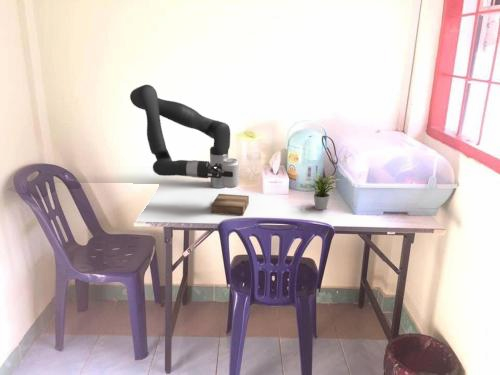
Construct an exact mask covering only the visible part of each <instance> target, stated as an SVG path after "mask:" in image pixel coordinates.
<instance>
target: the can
mask: <svg viewBox="0 0 500 375" xmlns="http://www.w3.org/2000/svg"><path fill="white" fill-rule="evenodd" d="M238 161H239V160H238V159H236V158H232V157H228V158H227V159H224V160H223V162H222V171H228V172H233V177H222V185H223V186H224V187H225V188H226V189H234V188H237V187H238V186H239V182H240V181H239V177H240V162H238Z"/></svg>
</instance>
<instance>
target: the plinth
mask: <svg viewBox="0 0 500 375" xmlns="http://www.w3.org/2000/svg"><path fill="white" fill-rule="evenodd" d="M249 196H250V195H242V194H226V193H218V195H217V196H216V198H214V200H213V201H212V202H211V204H210V206H211V207H210V208H211V211H210V212H211V213H210V214H219V215H221V214H222V215H234V216H243V215H244V214H245V212H246V210H247V208H248V206H249V199H250V198H249Z"/></svg>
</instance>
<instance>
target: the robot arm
mask: <svg viewBox="0 0 500 375" xmlns="http://www.w3.org/2000/svg"><path fill="white" fill-rule="evenodd" d="M129 100H130V101H131V103H132V105H133V106H134V107H136V108H138V109H140V110H143V111H145V115H146V137H147V143H148V146H149V149H150V150H149V151H150V153H151V154H152V155H154V156H155V159H156V160H155V162H154V163H153V164H152V170H153V172H154V173H155V174H156V175H159V176H171V177H172V176H181V177H191V178H197V179H198V178H199V179H208V178H209V179H210V186H211V187H212V188H214V189H225V188H226V187H224V186H223V185H222V177H233V172H228V171H222V162H223V160H224V159H227V158H229V150H230V148H231V147H230V146H231V128H230V126H229V125H228V123H226V122H222V121H219V120H215V119H211V118H209V117H206V116H203V115H202V114H200V112H198V111H197V110H195V109H193V107H190V106H188V105H186V104H184V103H181V102H176V101H172V100H165V99H161V98H160V97H158V93H157V90H156V89H155V88H154V86H152V85H151V84H143V85H140V86H139V87H135V88H134V89H133V90H132V91H131V92H130V94H129ZM160 117H163V118H165V119H167V120H169V121H172V122H174V123H176V124H178V125H181V126H183V127H186V128H189V129H194V130H197V131H199V132H201V133H203V134H205V135H206V136H208V137H209V138H210V139H212V140H213V146H211V147H210V148H209V161H207V160H193V159H191V160H187V159H177V160H172V157H171V155H170V153H169V150H168V148H167V145H166V141H165V138H164V134H163V129H162V123H161V118H160Z"/></svg>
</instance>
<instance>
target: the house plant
mask: <svg viewBox="0 0 500 375" xmlns="http://www.w3.org/2000/svg"><path fill="white" fill-rule="evenodd" d="M332 177H333V175H330V174H327V176H326V177H325V179H324V178H323V174H322V172H321V173H317V180H316V178H314V177H313V176H311V179H313V180H312V182H314V184H315V185H316V186H315V185H313V184H309V185H308V187H311V188H313V189H314V190H315V191H314V193H313V200H314V208H315V209H316V210H322V211H323V210H327V207H328V204H329V200H330V194H329V193H328V192H331V193H332V194H333V193H334V191H333V190H335V189H336V188H335V187H337V185H334V186H333V185H332V184H335V183H336V184H337V183H339V182H338V180H340V178H337V179H333V180H331V178H332Z"/></svg>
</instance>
